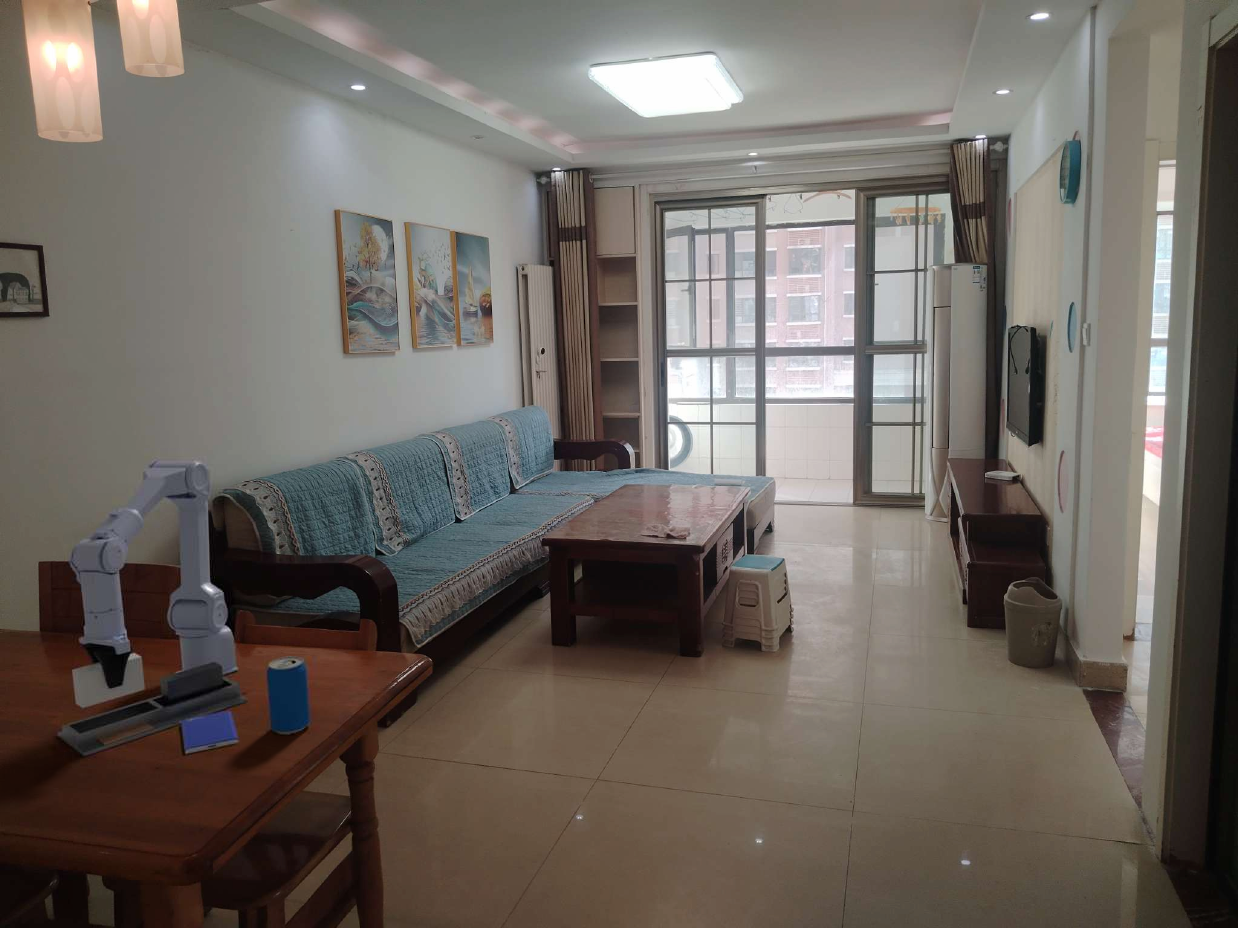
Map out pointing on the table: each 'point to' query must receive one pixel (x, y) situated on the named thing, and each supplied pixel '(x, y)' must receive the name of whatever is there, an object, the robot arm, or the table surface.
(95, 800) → the table surface
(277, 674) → the beverage can
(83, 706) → the panel
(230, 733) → the hard drive
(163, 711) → the drive rack
